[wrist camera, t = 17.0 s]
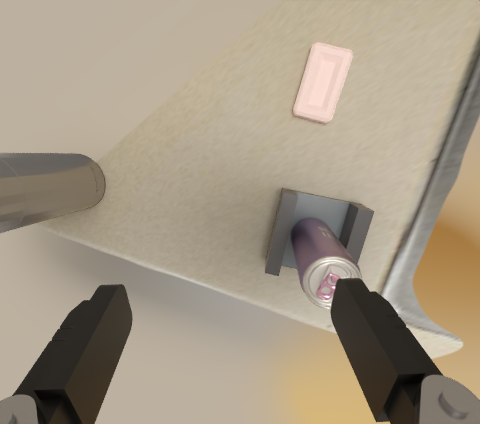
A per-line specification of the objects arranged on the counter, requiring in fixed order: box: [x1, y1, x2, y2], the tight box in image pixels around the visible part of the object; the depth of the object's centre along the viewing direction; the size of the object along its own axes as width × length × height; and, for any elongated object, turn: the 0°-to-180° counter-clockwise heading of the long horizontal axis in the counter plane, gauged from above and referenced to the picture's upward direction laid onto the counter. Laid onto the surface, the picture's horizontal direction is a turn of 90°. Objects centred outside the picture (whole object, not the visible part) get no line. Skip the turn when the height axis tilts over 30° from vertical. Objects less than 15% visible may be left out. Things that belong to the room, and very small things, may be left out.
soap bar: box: [292, 42, 353, 124], centre depth 35 cm, size 5×9×2 cm, turn 165°
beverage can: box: [291, 218, 362, 309], centre depth 32 cm, size 6×6×15 cm
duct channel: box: [265, 188, 374, 276], centre depth 38 cm, size 12×12×5 cm
